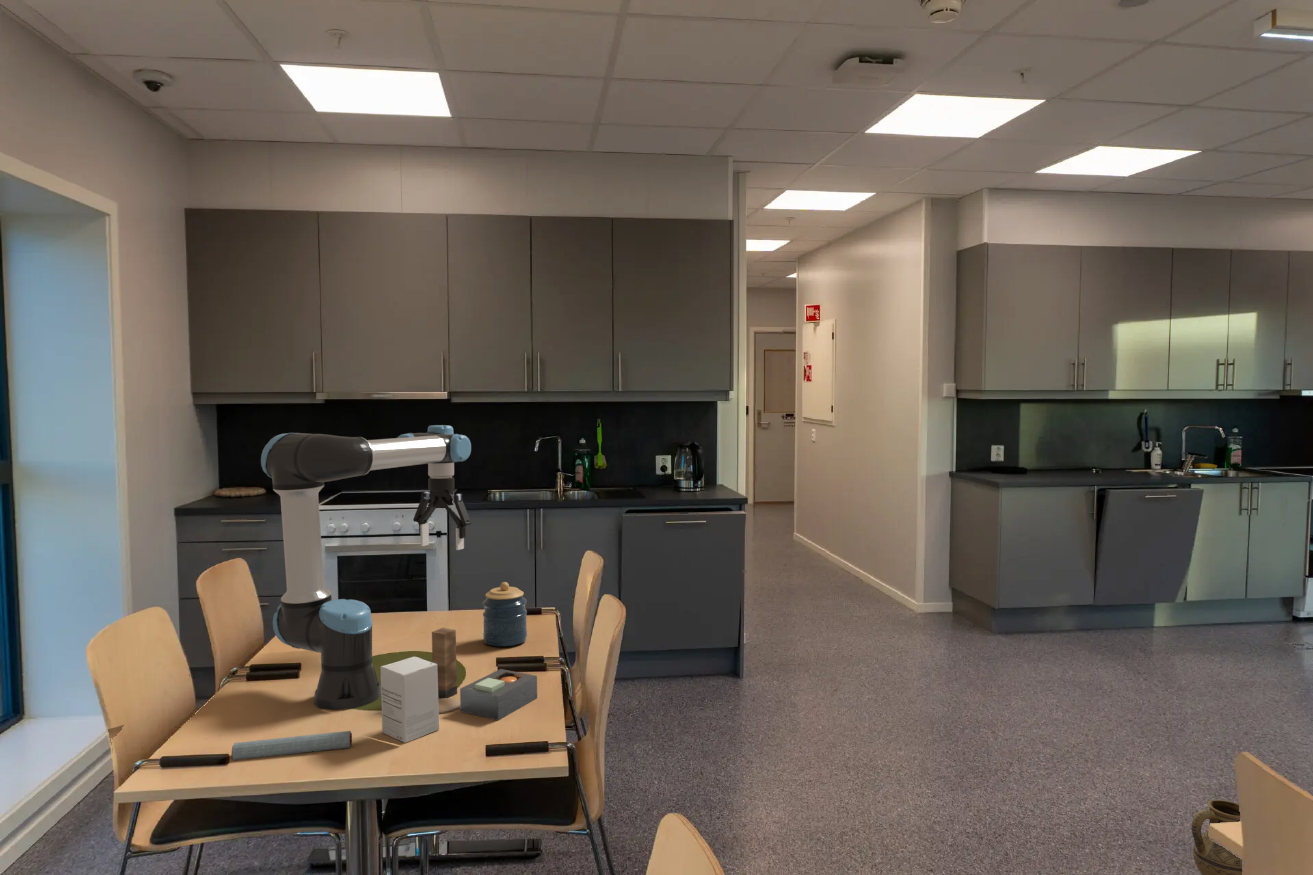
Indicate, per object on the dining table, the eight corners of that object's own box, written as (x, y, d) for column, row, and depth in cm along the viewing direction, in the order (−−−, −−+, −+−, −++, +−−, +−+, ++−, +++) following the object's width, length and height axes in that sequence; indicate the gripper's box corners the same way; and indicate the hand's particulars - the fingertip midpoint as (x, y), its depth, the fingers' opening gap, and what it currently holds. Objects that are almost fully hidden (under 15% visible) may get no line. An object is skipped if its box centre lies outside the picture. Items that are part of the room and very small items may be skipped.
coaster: (445, 715, 188) (445, 713, 188) (418, 709, 191) (418, 707, 191) (468, 703, 195) (468, 701, 195) (442, 698, 198) (442, 695, 198)
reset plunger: (520, 688, 198) (520, 678, 198) (510, 693, 194) (510, 683, 194) (507, 685, 200) (506, 675, 200) (496, 690, 196) (496, 680, 196)
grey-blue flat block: (231, 763, 165) (230, 747, 165) (239, 749, 171) (238, 733, 171) (350, 750, 171) (350, 734, 171) (353, 737, 177) (353, 721, 177)
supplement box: (416, 719, 186) (415, 655, 185) (440, 730, 180) (439, 663, 179) (380, 732, 179) (379, 665, 178) (404, 743, 173) (402, 674, 172)
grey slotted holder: (537, 697, 198) (536, 675, 198) (498, 720, 185) (498, 696, 185) (500, 690, 203) (500, 668, 203) (460, 711, 190) (460, 688, 190)
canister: (522, 632, 253) (521, 575, 252) (531, 644, 241) (530, 585, 240) (479, 636, 248) (479, 579, 247) (487, 649, 236) (486, 589, 235)
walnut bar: (445, 699, 198) (444, 634, 197) (432, 696, 200) (431, 631, 199) (457, 693, 201) (456, 629, 201) (444, 690, 203) (443, 627, 202)
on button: (504, 691, 192) (504, 680, 192) (491, 698, 188) (491, 687, 187) (488, 688, 194) (488, 677, 194) (475, 694, 190) (475, 684, 190)
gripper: (482, 477, 242) (483, 548, 243) (418, 474, 253) (419, 541, 254) (466, 479, 235) (466, 552, 236) (400, 476, 246) (401, 545, 247)
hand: (442, 547), depth 245 cm, fingers open, 13 cm apart
